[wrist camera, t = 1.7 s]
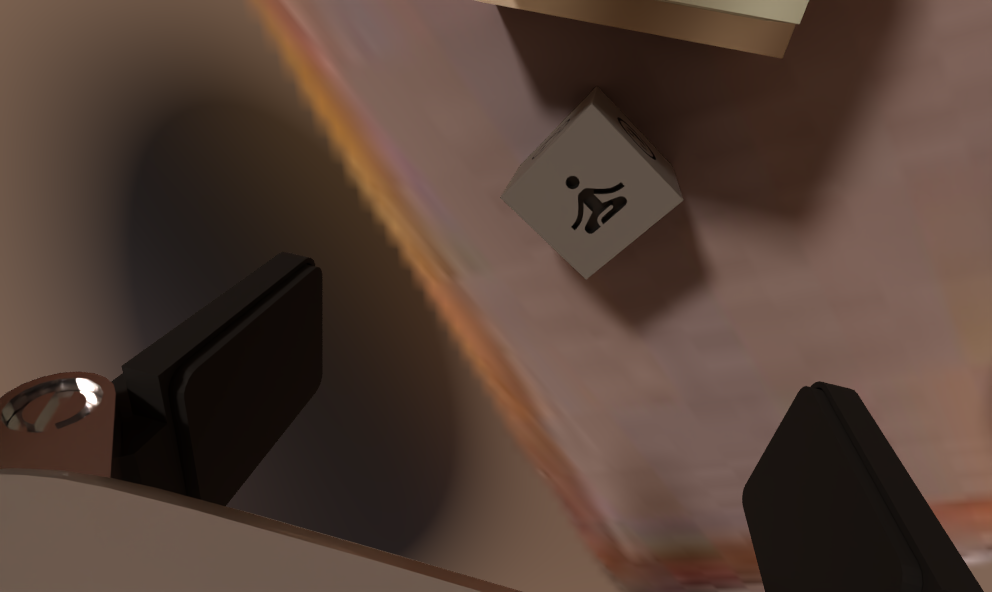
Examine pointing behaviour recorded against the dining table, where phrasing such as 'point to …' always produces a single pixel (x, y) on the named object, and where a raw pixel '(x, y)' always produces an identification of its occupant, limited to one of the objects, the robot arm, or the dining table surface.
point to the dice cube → (593, 185)
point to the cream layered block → (687, 19)
